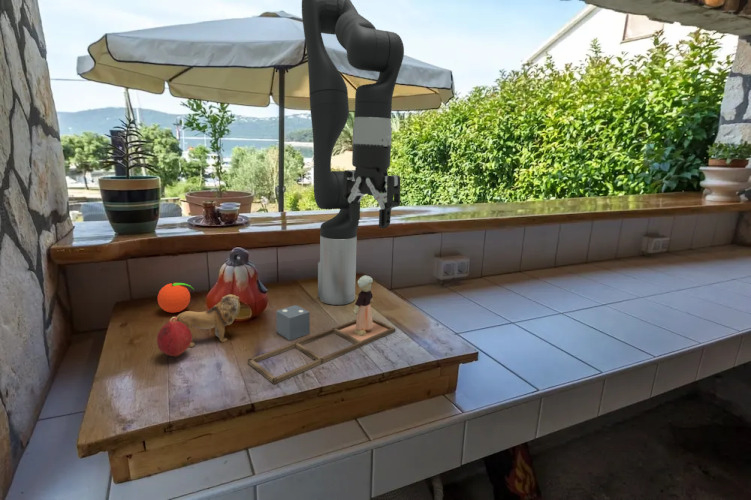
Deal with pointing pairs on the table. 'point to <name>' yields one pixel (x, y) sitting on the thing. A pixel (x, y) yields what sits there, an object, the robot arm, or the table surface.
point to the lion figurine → (213, 317)
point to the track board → (343, 331)
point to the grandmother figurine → (364, 306)
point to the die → (293, 322)
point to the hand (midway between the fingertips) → (368, 224)
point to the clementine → (174, 297)
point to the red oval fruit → (174, 338)
